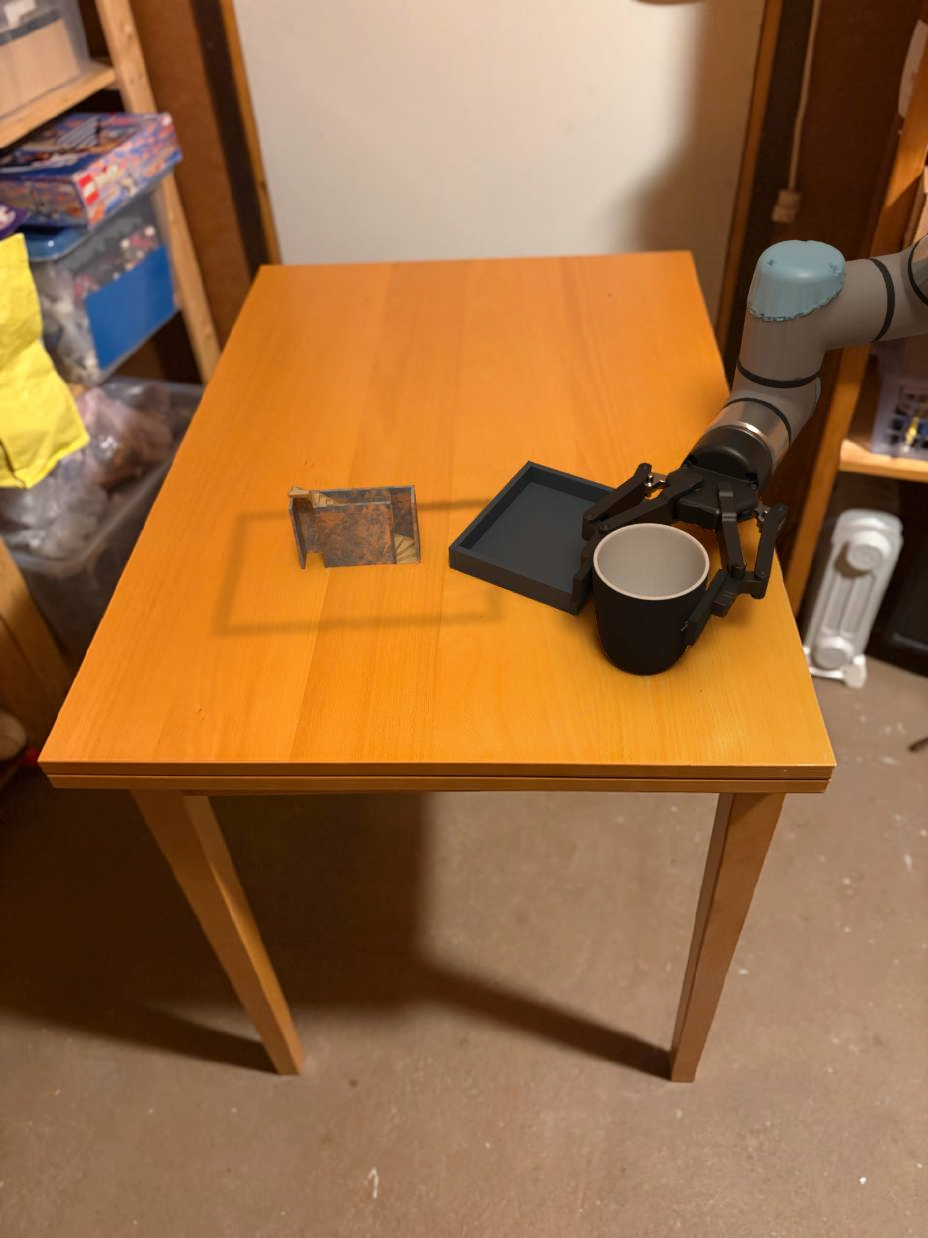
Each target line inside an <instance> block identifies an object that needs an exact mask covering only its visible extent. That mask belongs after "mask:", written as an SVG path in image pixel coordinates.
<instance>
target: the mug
mask: <svg viewBox="0 0 928 1238" xmlns="http://www.w3.org/2000/svg"><path fill="white" fill-rule="evenodd" d="M709 575H710V558H709V554H708V553H707V550H706V549H705V547H704V546H703V544H702V543H701V542H700V541H699V540H697V538H695V537H694V536H693V535H691V534H689V533H688V532H687V531H684V530H682V529H679V528H677V527H674V526H672V525H671V526H667V525H661V524H635V525H630V526H626V527H623V528H620V529H618V530H616V531H614V532H612V533H610V534H609V535H607V536H606V537H605V538H604V539H603V540H602V541H601V542H600V543H599V544H598V546H597V548H596V550H595V553H594V556H593V565H592V583H593V595H592V598H593V609H594V610H593V611H594V617H595V625H596V630H597V635H598V639H599V642H600V645H601V647H602V649H603V650H602V651H604V653H605V655H606V656H607V658H608V659H609V660H610V661H611V663H613V664H614V665H615V666H616V667H617V668H619V669H621V670H623V671H624V672H628V673H630V674H633V675H634V674H635V675H641V676H644V675H645V676H647V675H648V676H649V675H656V674H659V673H663V672H665V671H667V670H669V669H670V668H672V667H673V666H674V665H676V664H677V663H678V662H679V661H680V660H681V659H682V657H683V655H684V654H685V652H686V651H687V649H688V647H689V645H686V644H684V641H685V635H686V630H687V624H688V619H689V617H690V616H691V614H692V613H693V611H694V609H695V608H696V606H697V604H698V603H699V601H700V599H701V598H702V596H703V595H704V593H705V591H706V590H707V588H708V582H709Z"/></svg>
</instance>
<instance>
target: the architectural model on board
mask: <svg viewBox="0 0 928 1238" xmlns="http://www.w3.org/2000/svg"><path fill="white" fill-rule="evenodd" d="M286 495H287V497H288V499H289V503H288V508H287V510H288V513H289V518H290V523H291V525H292V526H291V527H292V532H293V536H294V540H295V545H296V549H297V554H298V559H299V563H300V569H301V570H306V565H307V556H308V554H319V553H321V554H322V558H323V564H324V568H325V569H329V568H344V567H345V568H346V567H364V566H366V567H367V566H383V565H396V566H398V565H409V564H421V538H420V537H421V536H420V527H419V526H420V525H419V515H418V506H417V496H416V485H415V484H410V485H409V484H408V485H407V484H406V485H390V486H389V485H387V486H367V487H348V488H347V487H346V488H331V489H330V488H329V489H308V488H305V487H301V486H297V485H292V486H291V488H290V489H289V491H288V492H287V493H286Z"/></svg>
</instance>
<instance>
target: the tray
mask: <svg viewBox="0 0 928 1238" xmlns="http://www.w3.org/2000/svg"><path fill="white" fill-rule="evenodd" d="M616 488H617V487H613V486H609V485H606V484H603V483H600V482H597V481H594V480H591V479H587V478H584V477H581V476H578V475H574V474H571V473H568V472H565V471H563V470H559V469H556V468H552V467H550V466H548V465H547V466H546V465H543V464H540V463H537V462H534V461H531V460H527V461H526V462H525V464H524V465H523V466H522V467H521V468H519V470H518V471H517V472H516V473H515V474H514V476H513V477H512V478H510V480H509V481H508V482H506V484H505V485H504V486H503V487H502V488H501V489H500V491H499V492H498V493H496V495H495V496H493V498H492V499H491V501H489V502H488V503H487V505H486V506H485V507H484V508H483V509H482V510H481V511H480V512H479V513H478V515H476V517H474V519H473V520H472V521H471V522H470V523H469V524H468V525H467V526H466V528H465V529H464V530H463V531H462V532H461V533H460V534H459V536H457V537H456V538H455V540H454V541H453V542H452V543H451V544H450V545H449V546H448V548H447V549H448V562H449V568H450V569H453V570H455V571H459V572H461V573H464V574H467V575H468V576H471V577H475V578H477V579H479V580H482V581H485V582H487V583H490V584H492V585H495V586H498V587H500V588H503V589H506V590H508V591H510V592H513V593H516V594H518V595H521V596H524V597H527V598H529V599H531V600H534V601H537V602H539V603H542V604H544V605H547V606H550V607H552V608H554V609H557V610H560V611H563V612H565V613H569V615H573V616H575V617H577V616H578V615H579V614H580V613H581V612H582V610H583V609H584V608H585V606H586V604H587V603H588V602H589V600H590V599H591V597H593V588H592V590H591V591H590V592H589V594H588V595H587V596H586V598H585V599H584V600H583V602H582V603H581V605H579V604H576V603H574V602H572V590H573V577H574V576H575V574H576V573H577V572H578V570H579V569H580V563H581V551H582V549H583V548H584V547H585V545H586V544H587V543H588V542H589V541H586V540H584V539H582V520H583V513H584V512H585V511H587V510H588V509H589V508H591V507H592V506H593V505H595V504H596V503H597V502H599V501H600V500H601V499H603V498H604V497H605V496H607V495H608V494H609V493H611V492H612V491H613V490H615V489H616ZM650 499H651V498H646V497H645V498H644V500H643V501H642V502H641V503H640V504H642V503H644V502H646V501H648V500H650ZM640 504H639V505H640Z"/></svg>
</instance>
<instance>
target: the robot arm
mask: <svg viewBox="0 0 928 1238" xmlns="http://www.w3.org/2000/svg"><path fill="white" fill-rule="evenodd" d="M754 269H755V270H754V273H753V275H752V276H753V277H752V279H751V283H750V286H749V291H748V294H747V298H746V311H745V317H744V324H743V331H742V337H741V344H740V351H739V354H738V357H737V361H736V367H735V371H734V377H733V381H732V388H731V392H730V394H729V397H728V399H727V400H726V401H725V403H724V404H723V406H722V407H721V409H720V410H719V412H718V413H717V414H716V416H715V417H714V418H713V420H712V421H711V422H710V423H709V425H708V426H707V427H706V429H705V430H704V431H703V433H702V434H701V436H700V437H699V439H698V440H697V441H696V443H694V446H692V448H691V450H690V451H689V452H688V454H687V455H686V456H685V458H684V459H683V460H682V462H681V464H680V466H679V467H678V468H677V469H675V470H671V471H670V472H669V473H668V474H663V473H658V472H653V471H652V468H653V466H652V464H651V463H649V462H641V463H639V464H638V466H637V468H636V469H635V471H634V473H633V475H632V476H631V477H629V478H627V480H626V481H624V482H622V483H621V484H620V485H619V486H617V487H615V488H616V489H615V490H613V491H612V492H611V493H609V494H608V495H607V496H605V497H604V498H603V499H601V500H600V501H599V502H597V503H596V504H595V505H593V506H592V507H591V508H589V509H588V510H587V511H585V512H584V513H583V520H582V539H584V540H586V541H589V542H588V543H587V544H586V545H585V547H584V548H583V549H582V551H581V563H580V569H579V570H578V572H577V573H576V574H575V576H574V577H573V590H572V602H574V603H576V604H579V605H581V603H582V602H583V600H584V599H585V598H586V596H587V595H588V594H589V592H590V591H591V590H592V588H593V583H592V565H593V556H594V553H595V550H596V548H597V546H598V544H599V543H600V542H601V541H602V540H603V539H604V538H605V537H606V536H607V535H609V534H610V533H612V532H614V531H616V530H618V529H620V528H623V527H626V526H630V525H635V524H661V525H667V526H671V527H672V526H673V525H675V524H677V523H679V522H680V523H683V524H687V525H693V526H696V527H698V528H700V529H703V530H705V531H709V532H712V531H713V533H714V538H715V543H716V545H717V549H718V554H719V560H720V566H721V568H720V567H719V569H717V572H716V573H715V575H714V576H713V578H712V580H711V581H710V583H709V585H707V587H706V591H705V593H704V595H703V596H702V598H701V599H700V601H699V603H698V604H697V606H696V608H695V609H694V611H693V613H692V614H691V616H690V617H689V619H688V624H687V630H686V635H685V641H684V644H686V645H688V647H692V648H694V647H695V645H696V643H697V641H698V640H699V638H700V637H701V635H702V633H703V631H704V629H705V628H706V626H707V624H708V622H709V621H710V620H711V618H712V616H714V617H716V618H720V619H724V618H725V617H727V616H728V614H729V613H730V611H731V609H732V607H733V605H734V604H735V602H736V600H737V599H738V597H739V596H741V595H749V596H750V597H751V598H753V599H754V600H764V598H765V597H766V594H767V591H768V589H767V588H768V586H769V585H768V584H769V582H770V578H771V575H772V568H773V563H774V561H773V560H774V556H775V555H774V554H775V548H776V541H777V539H778V538H779V536H780V535H781V534H782V533H783V530H784V527H785V523H786V519H787V516H788V512H789V506H787V504H785V503H780V502H778V503H775V504H774V505H773V506H772V507H770V506H768V505H765V504H762V503H760V498H761V496H762V495H763V493H764V492H765V490H766V488H767V486H768V485H769V483H770V481H771V479H772V478H773V476H774V475H775V473H776V471H777V470H778V468H779V467H780V465H781V463H782V462H783V460H784V459H785V457H786V455H787V453H788V452H789V450H790V448H791V447H792V445H793V444H794V442H795V440H796V439H797V438H798V435H799V434H800V433H801V431H802V429H803V428H804V427H805V426H806V425H807V422H808V421H809V420H810V419H811V418H812V416H813V414H814V411H815V409H816V405H817V403H818V401H819V398H820V395H821V390H822V388H821V387H822V384H821V378H820V376H819V373H820V369H821V367H822V364H823V360H824V356H825V353H826V352H829V351H835V350H838V349H839V350H840V349H845V348H850V347H857V346H862V345H867V344H873V343H878V342H879V343H880V342H884V341H891V340H897V339H903V338H908V337H909V338H910V337H915V336H922V335H928V233H926V234H925V235H923V236H922V237H921V238H919V239H918V240H917V241H915V242H913V243H912V244H911V245H910V246H909V247H907V248H906V249H904V250H901V251H899V252H896V253H890V254H885V255H877V256H873V257H866V258H861V259H860V258H859V259H854V260H847V261H846V259H845V257H844V255H843V253H842V252H841V251H840V250H839V249H837V248H836V247H835V246H832V245H831V244H827V243H824V242H822V241H817V240H811V239H810V240H807V241H802V240H799V239H791V240H790V239H789V240H784V241H780V242H777V243H774V244H773V245H771V246H769V247H768V248H766V249H765V250H764V251H763V252H762V253H761V254H760V256H759V258H758V260H757V262H756V266H755V268H754ZM659 490H660V491H659ZM656 491H659V492H658V494H657V496H655V497H653V498H651V497H652V496H653V494H654V493H655V492H656ZM644 498H647V499H650V500H648V501H646V502H644V503H642V504H640V503H641V502H642V501H643V500H644ZM639 504H640V505H639ZM752 519H755V520H756V523H755V526H756V528H757V529H758V530H757V531H758V533H759V539H758V543H757V550H756V555H755V560H754V567H753V570H747V567H748V562H745V558H744V554H743V548H742V543H741V538H740V533H739V532H740V531H739V528H738V525H739V524H741V523H744V522H747V521H750V520H752Z"/></svg>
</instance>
